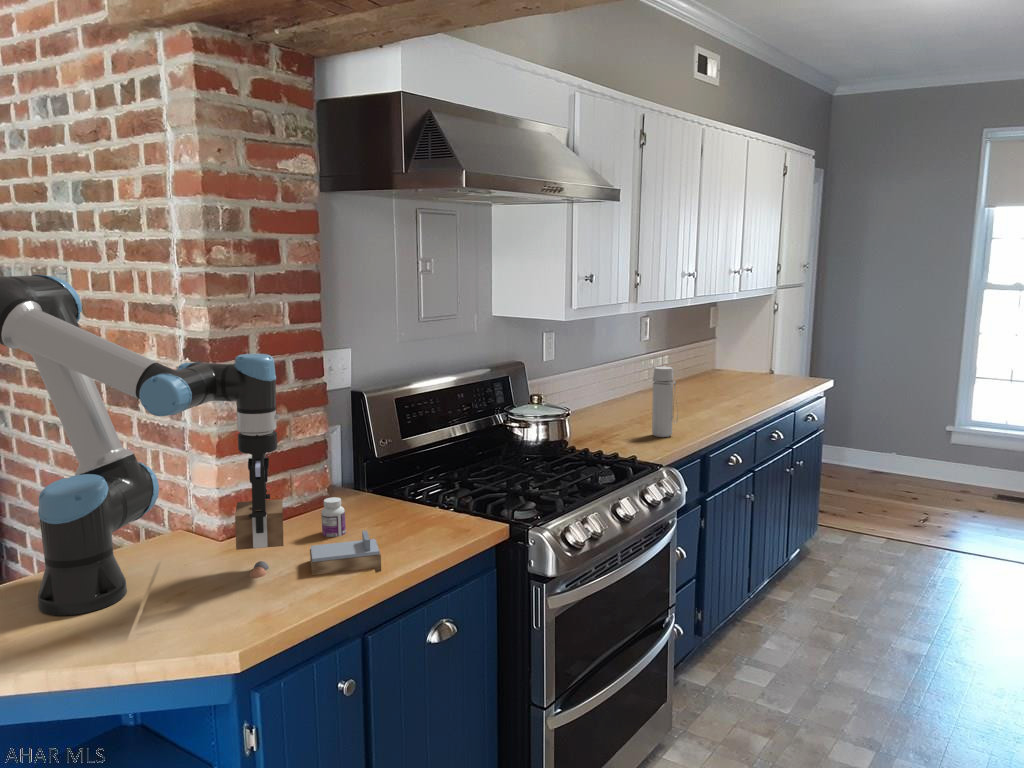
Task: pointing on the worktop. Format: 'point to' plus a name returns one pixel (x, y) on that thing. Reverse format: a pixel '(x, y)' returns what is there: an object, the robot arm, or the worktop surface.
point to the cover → (246, 529)
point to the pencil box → (346, 564)
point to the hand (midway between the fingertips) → (260, 538)
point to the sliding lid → (345, 549)
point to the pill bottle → (333, 518)
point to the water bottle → (663, 401)
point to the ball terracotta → (258, 572)
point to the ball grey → (261, 565)
